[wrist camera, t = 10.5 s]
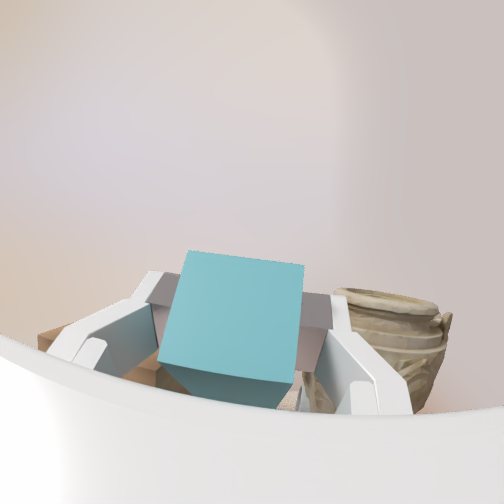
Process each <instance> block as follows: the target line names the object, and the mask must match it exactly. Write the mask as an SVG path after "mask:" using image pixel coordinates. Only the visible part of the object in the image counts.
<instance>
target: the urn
mask: <svg viewBox="0 0 504 504" xmlns="http://www.w3.org/2000/svg"><path fill="white" fill-rule="evenodd" d="M333 295H344V296H346V298H347V303H348V309H349V315H350V321H351V327H352V332H357V333H358V334H359V335H360V336H361V337H362V338H363V339H364V340H365V341H366V342H367V343H368V344H369V345H370V346H371V347H372V348H373V349H374V350H375V351H376V352H377V353H378V354H379V355H380V356H381V357H382V358H383V359H384V360H385V361H386V362H387V363H388V364H389V365H390V366H391V367H392V368H393V369H394V370H395V371H396V372H397V373H398V374H399V375H400V376H401V377H402V378H403V379H404V380H405V381H406V383H407V387H408V392H409V396H410V401H411V406H412V411H413V414H416V412H418V411H419V410H421V409H422V408H423V407H424V405H425V402H426V400H427V398H428V396H429V394H430V392H431V390H432V387H433V383H434V379H435V378H436V375H437V373H438V371H439V369H440V366H441V364H442V362H443V359H444V355H445V351H446V346H447V341H448V332H449V329H450V325H451V321H452V315H453V314H452V313H450V312H447V313H445V314H444V315H443V317H441V314H440V312H439V310H438V306H437V305H435V304H434V303H431V302H428V301H424V300H419V299H415V298H411V297H406V296H402V295H395V294H390V293H384V292H378V291H371V290H362V289H355V288H339V289H336V290H335V291H334V293H333ZM431 320H432V321H431ZM302 377H303V382H304V386H305V393H306V397H308V399H309V404H310V412H311V413H326V414H335V412H336V410H337V409H336V408H335V406H334V404H333V403H332V401H331V400H330V398H329V397H328V395H327V393H326V392H325V390H324V389H323V387H322V386H321V384H320V382H319V381H318V379H317V378H316V376H315V375H314V373H313V372H304V371H302Z"/></svg>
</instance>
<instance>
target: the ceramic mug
mask: <svg viewBox="0 0 504 504" xmlns="http://www.w3.org/2000/svg"><path fill="white" fill-rule="evenodd" d="M295 411H299V412H310V404H309V399H308V397H306V393H305V386H304V385H302V386H301V387H300V389H299V392H298V396H297V401H296V406H295Z"/></svg>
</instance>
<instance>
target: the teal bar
mask: <svg viewBox="0 0 504 504" xmlns="http://www.w3.org/2000/svg"><path fill="white" fill-rule="evenodd" d="M303 277H304V265H300V264H292V263H284V262H276V261H268V260H260V259H252V258H244V257H237V256H229V255H221V254H214V253H206V252H199V251H190V250H189V251H188V252H187V255H186V259H185V262H184V265H183V269H182V272H181V275H180V279H179V282H178V285H177V289H176V292H175V296H174V299H173V303H172V306H171V310H170V313H169V317H168V321H167V324H166V328H165V332H164V335H163V339H162V343H161V347H160V351H159V355H158V358H157V362H158V363H159V364H160V365H161V366H163V367H164V368H165V369H166V370H167V371H168V372H169V373H170V374H171V375H172V376H173V377H174V378H175V379H176V380H177V381H178V382H179V383H180V384H181V385H182V386H183V387H184V388H185V389H187V390H188V391H189V392H190V393H191V394H192V395H193V396H196V397H201V398H206V399H211V400H217V401H222V402H228V403H235V404H241V405H248V406H255V407H262V408H270V409H276V407H277V406H278V405H279V403H280V402H281V400H282V399H283V398H284V396H285V395H286V393H287V392H288V390H289V389H290V388H291V386H292V385H293V381H294V373H295V364H296V354H297V345H298V335H299V324H300V313H301V302H302V290H303Z"/></svg>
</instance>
